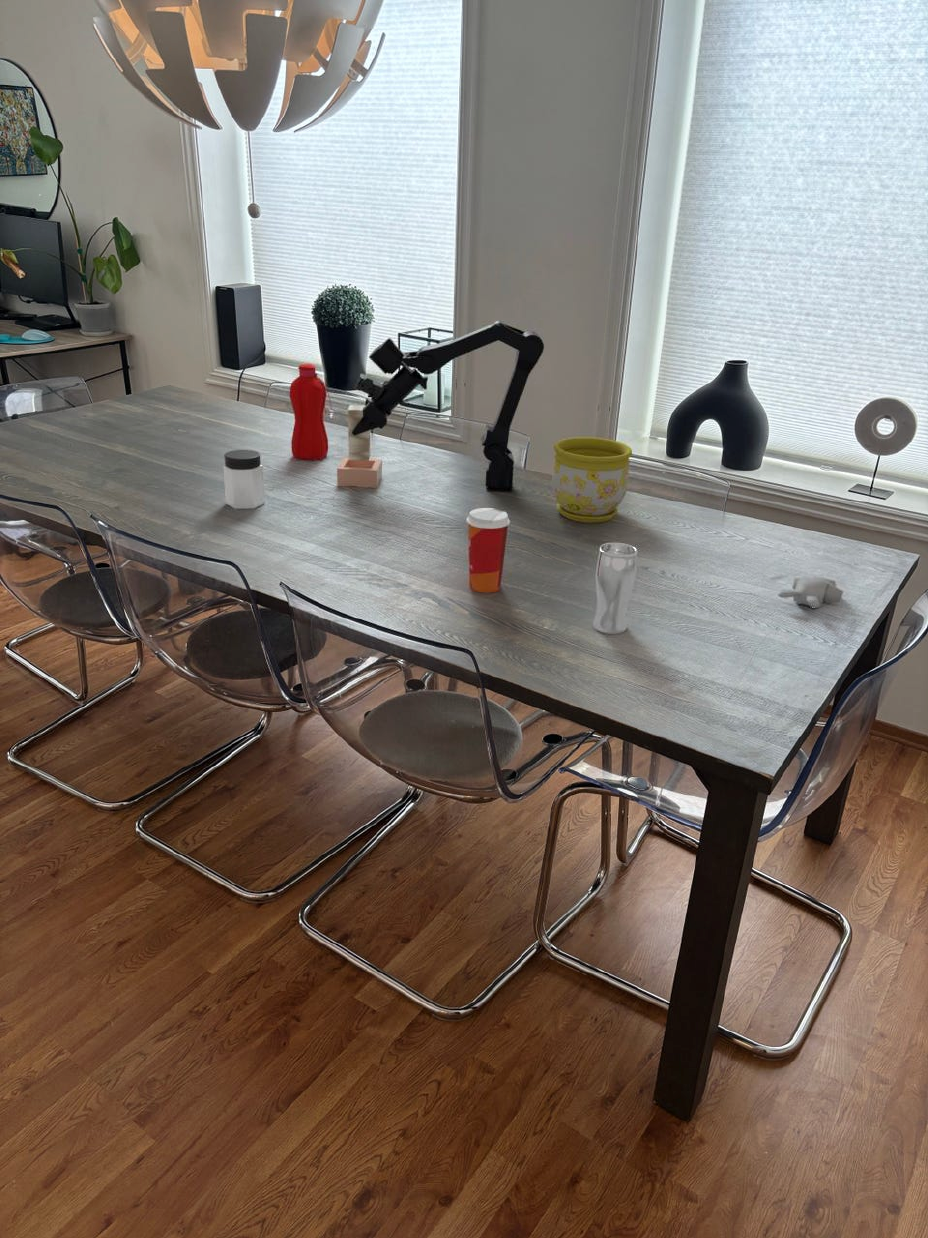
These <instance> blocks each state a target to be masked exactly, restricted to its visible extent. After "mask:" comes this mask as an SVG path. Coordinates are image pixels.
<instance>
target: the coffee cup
mask: <svg viewBox="0 0 928 1238" xmlns="http://www.w3.org/2000/svg"><path fill="white" fill-rule="evenodd" d="M466 523H467V525H468V526H467V528H468V532H467V534H468V575H469V578H468V579H469V587H470V589H471V590H472V591H474V592H476V593H480V594H481V593H482V594H491V593H496V592H498V591H499V590H501V583H502V577H503V571H504V569H503V568H504V561H505V554H506V553H505V552H506V545H507V537H508V536H507V535H508V529H509V528H508V527H509V525H510V523H511V520H510V519H509V515H508V513H507V512H506V511H502V510H499V509H496V508H492V507H483V508H482V507H481V508H475V509H472V510H471V511H469V514H468V516H467V518H466Z"/></svg>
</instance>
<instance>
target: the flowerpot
mask: <svg viewBox="0 0 928 1238" xmlns="http://www.w3.org/2000/svg"><path fill="white" fill-rule="evenodd" d="M553 449H554V452H555V455H554V464H553V467H552V475H551V476H552V477H551V486H552V491H553V492H552V493H553V494H554V497H555V499H556V501H557V502H558V503H557V505H556V507H557V508H556V509H557V510H558V511H559V512H560V514H561V515H562V517H564V518H565V519H566V518H567V519H569V520H571V521H574V522H581V523H590V524H591V523H593V524H594V523H603V522H608V521H610V520H611V519H612V518H613V517H614V516H615V515H617V514H618V506H620V504H621V503H622V501H623V499H624V498H625V496H626V493H627V491H628V486H629V465H630V458H631V456H632V454H633V450H632V448H631V447H630V446H629V445H628V444H625V443H623V442H620V441H617V440H614V439H607V438H601V437H589V436H588V437H584V436H581V437H580V436H579V437H568V438H564V439H560V440H557V441H556V442H555V443H554V445H553Z"/></svg>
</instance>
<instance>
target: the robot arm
mask: <svg viewBox="0 0 928 1238" xmlns="http://www.w3.org/2000/svg"><path fill="white" fill-rule="evenodd" d="M498 341H499V342H501V343H503V344H506V345H507V346H509V347H511V348H512V349H515V350H516V352H515V359H514V366H513V367H514V368H513V370H512V372H511V375H510V379H509V382H508V384H507V387H506V390H505V393H504V395H503V398H502V400H501V401H502V402H501V405H500V407H499V410H498V412H497V414H496V418H495V420H494V421H493V423H492V425H489V424H487V423H486V424H485V429H484V433H483V435H482V437H481V438H480V440H481V446H482V450H483V451H482V453H483V456H484V457H485V458H486V460H488V461H489V462H488V467H487V468H486V470H485V487H487V488H486V491H488V492H489V491H490V492H508V493H510V492H511V493H512V492H514V491H513V490H514V487H513V486H514V483H513V482H514V481H513V480H514V464H515V460H514V455H513V452H512V450H510V448H508V443H509V436H510V428H511V425H512V422H513V420H514V417H515V415H516V412H517V409H518V406H519V404H520V401H521V398H522V395H523V393H524V389H525V387H526V384H527V381H528V378H529V376H530V374H531V372H532V370H534V368H535V366H536V365H537V364H538V362H539V359H540V358H541V356H542V355H543V353H544V349H545V344H544V341H543V339H542V337H541V336H540V334H539V333H537V332H535V331H534V330H528V331H527V330H526V331H524V330H521V329H519V328H517V327H513V326H511V325H509V324H506V323H504V322H503V321H501V320H496V321H494V322H492V323H491V324H490V325H486V326H484V327H482V328H479V329H476V330H474V331H472V332H470V333H467V334H464V335H463V336H460V337H458V338H455V339H453V340H450V341H447V342H441V343H435V344H434V343H433V344H430V345H425V346H424V345H423V346H422V347H420V348H419V349H418V350H416V351H408V352H407V351H406V352H403V351H402V350H401V349H400V348H399V347H398V346H397V344H395V341H393V339H392V338H391V337H388V338H386V340H385V341H384V342H382V343H381V344H379V345H378V346H377V347H376V348H375V349H374V350H373V351H372V352H371V353H370V355H369V356H368V358H369V359H370V360H371V361H372V362H373V363H374V364H375V365H376V366H377V368H378V369H379V370H380V371H381V372H382V373H384V374H385V375H386V374H388V375H393V374H394V373H395V372H396V373H395V374H394V375H393V376H392V377H391V378H390V379H388V380H384V382H383V383H382V382H380V381H379V380H376V379H374V378H373V377H370V376H369V375H366V374H364V373H361V374H360V375H359V377H358V380H357V382H356V384H355V386H354V388H355V389H356V391H359V392H363V393H364V394H367V398H366V399H365V402H364V403H365V405H364V406H365V407H363V417H362V418H361V420H360V421H359V422H358V424H357V425H356V427H355V428H354V430H353V431H352V434H353V435H354V436H355V435H358V434H361V433H363V432H366V431H369V430H370V431H372V430H374V429H375V430H376V429H377V428H379V429H383V428H384V427H385V426H387V424H388V420H389V419H388V417H389V416H390V415H391V414H392V412H393V411H394V409H396V407H398V406H399V405H402V404H403V403H404V400H405V399H406V398H407V397H408V396H409V395H410V394H411V393H412V392H413V391H415V389H417V387H419V386H421V388H422V389H423V390H427V389H428V379H429V377H428V376H429V375H432V374H434V373H435V372H437V371H438V370H440V369H441V368H443V367H444V366H446V365H447V364H449V362H451V361H453V360H454V359H456V358H459V357H461V356H464V355H465V354H469V353H471V352H473V351H475V350H478V349H481V348H483V347H486V346H488V345H490V344H491V345H492V343H495V342H498ZM399 368H400V369H399ZM398 369H399V370H398ZM397 370H398V371H397ZM422 374H424V375H425V376H423V375H422ZM426 375H427V376H426ZM368 398H369V399H370V400H369V399H368Z"/></svg>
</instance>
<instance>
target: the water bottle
mask: <svg viewBox="0 0 928 1238" xmlns="http://www.w3.org/2000/svg"><path fill="white" fill-rule="evenodd" d="M297 370H298V373H299V375H298V377H296V378H295V379H293V380H292V381H291V384H290V385H289V386H290V387H289V392H288V393H289V400H290V403H291V408H292V410H293V411H292V412H293V415H294V425H293V429H292V436H291V442H290V443H291V444H290V445H291V447H290V448H291V454H292V457H294V458H295V459H298V460H309V461H320V460H322V459H324V458H325V456H327V455H328V452H329V439H328V438H329V437H328V434H327V431H326V426H325V422H324V413H325V414H326V415H327V416H330V415H331V414H332V412H330V414H328V413H327V412H326V410H325V407H326V399H327V396H328V399H329V404H330V406H332V403H331V398H330V394H329V391H328V389H327V387H326V383H325V382H324V381H323V380H322V379H321V377H319V376H318V373H317V372H316V366H315V365H314V364H312V363H303V364H299V365H298V367H297ZM330 411H332V407H330Z"/></svg>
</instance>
